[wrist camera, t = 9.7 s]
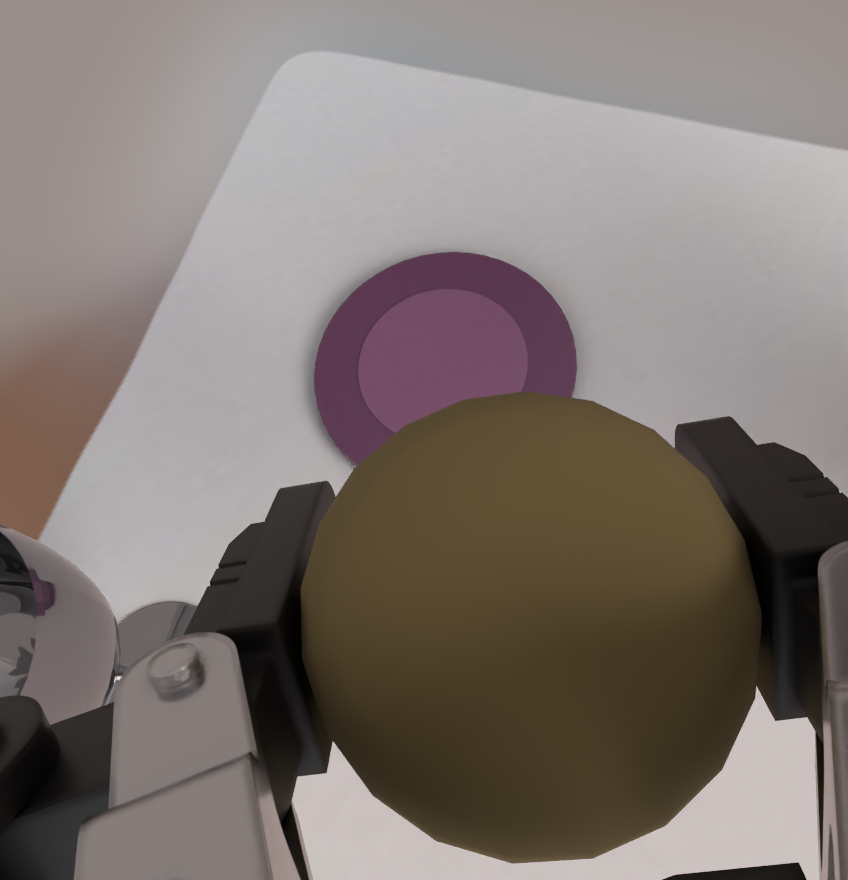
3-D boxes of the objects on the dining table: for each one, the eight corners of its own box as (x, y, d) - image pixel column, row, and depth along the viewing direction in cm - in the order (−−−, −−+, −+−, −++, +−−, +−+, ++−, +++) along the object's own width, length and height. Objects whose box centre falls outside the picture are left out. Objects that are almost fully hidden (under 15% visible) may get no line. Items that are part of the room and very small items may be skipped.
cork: (514, 491, 19) (470, 220, 9) (727, 650, 17) (990, 534, 7) (356, 684, 18) (101, 628, 8) (563, 878, 16) (583, 1145, 6)
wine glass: (206, 562, 36) (-6, 460, 22) (272, 717, 33) (75, 710, 19) (58, 647, 36) (-250, 597, 22) (112, 811, 33) (-206, 874, 19)
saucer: (502, 222, 41) (501, 211, 40) (626, 421, 36) (628, 414, 35) (282, 326, 40) (277, 318, 39) (376, 542, 35) (372, 537, 35)
